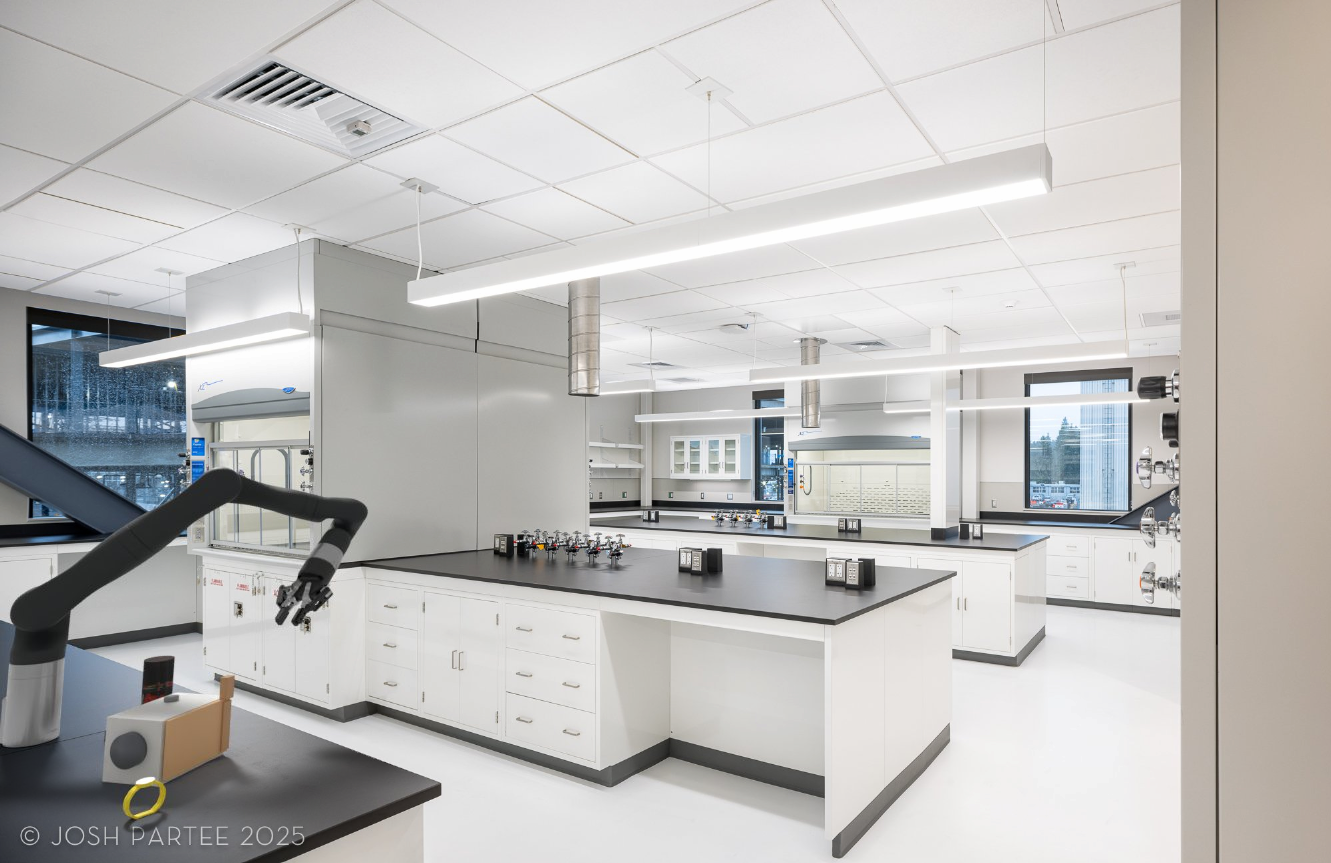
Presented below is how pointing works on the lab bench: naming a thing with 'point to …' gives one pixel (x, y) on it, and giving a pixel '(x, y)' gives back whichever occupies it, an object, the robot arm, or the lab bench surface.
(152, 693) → the deodorant
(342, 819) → the lab bench surface
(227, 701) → the side door
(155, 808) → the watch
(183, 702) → the box
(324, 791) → the lab bench surface
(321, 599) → the robot arm
